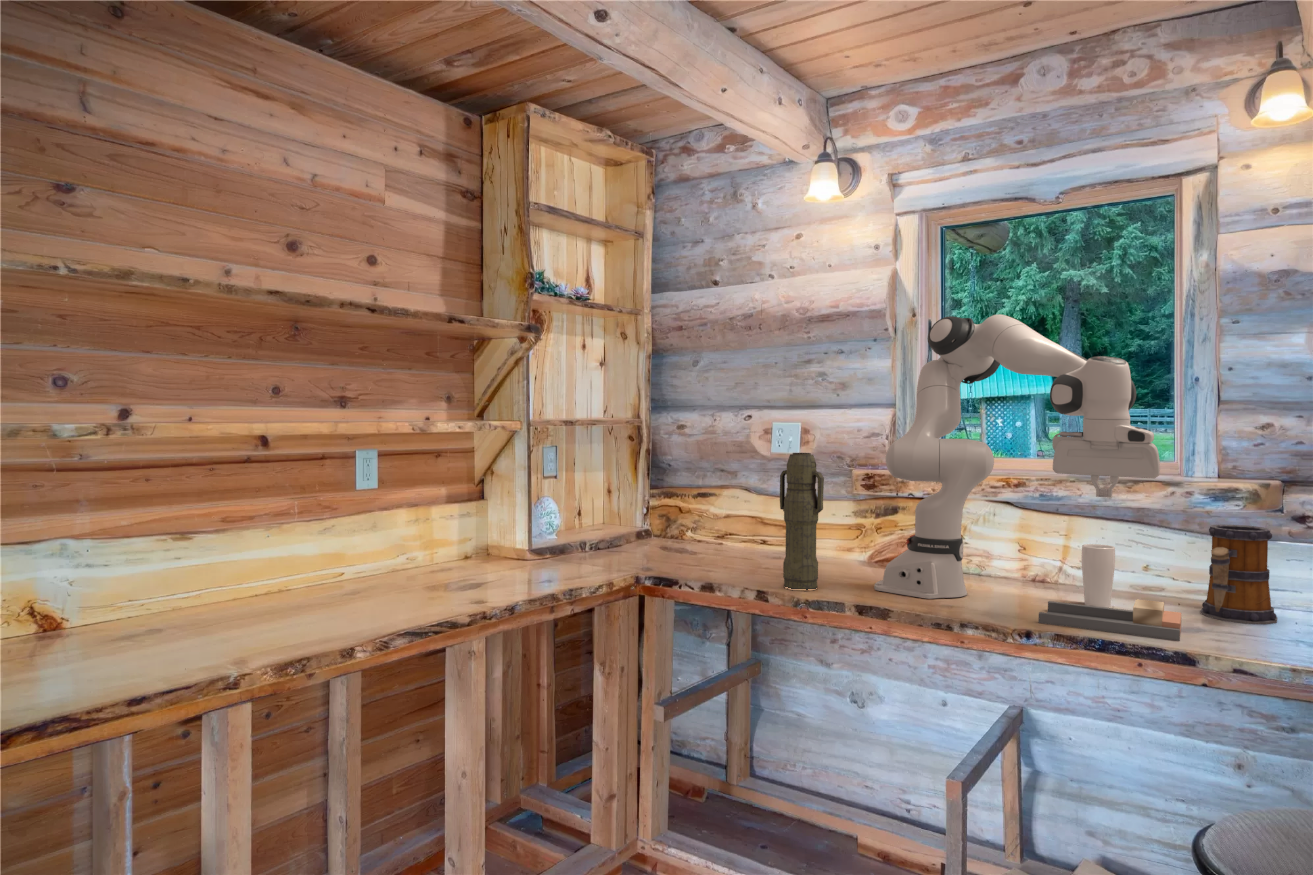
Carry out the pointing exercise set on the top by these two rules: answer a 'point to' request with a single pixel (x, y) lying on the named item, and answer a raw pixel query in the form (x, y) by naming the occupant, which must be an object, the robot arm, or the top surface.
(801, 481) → the thermos
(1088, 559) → the white tumbler
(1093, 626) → the guide channel
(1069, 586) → the top surface
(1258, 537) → the mug
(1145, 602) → the block
